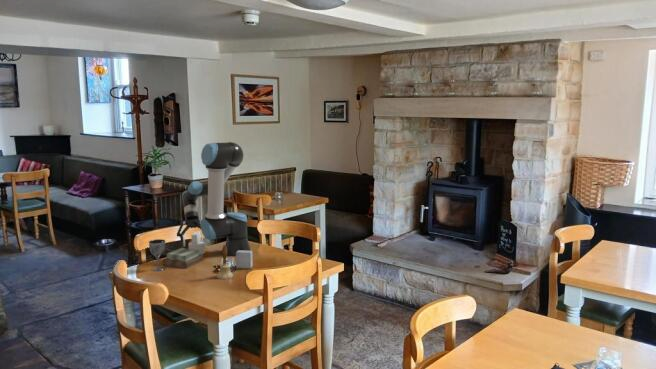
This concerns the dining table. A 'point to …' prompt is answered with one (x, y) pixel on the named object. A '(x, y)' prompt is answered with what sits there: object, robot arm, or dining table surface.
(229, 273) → the hand bell
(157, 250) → the wine glass
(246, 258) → the medicine box
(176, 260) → the tiered stand
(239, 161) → the robot arm
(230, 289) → the dining table surface
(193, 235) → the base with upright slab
